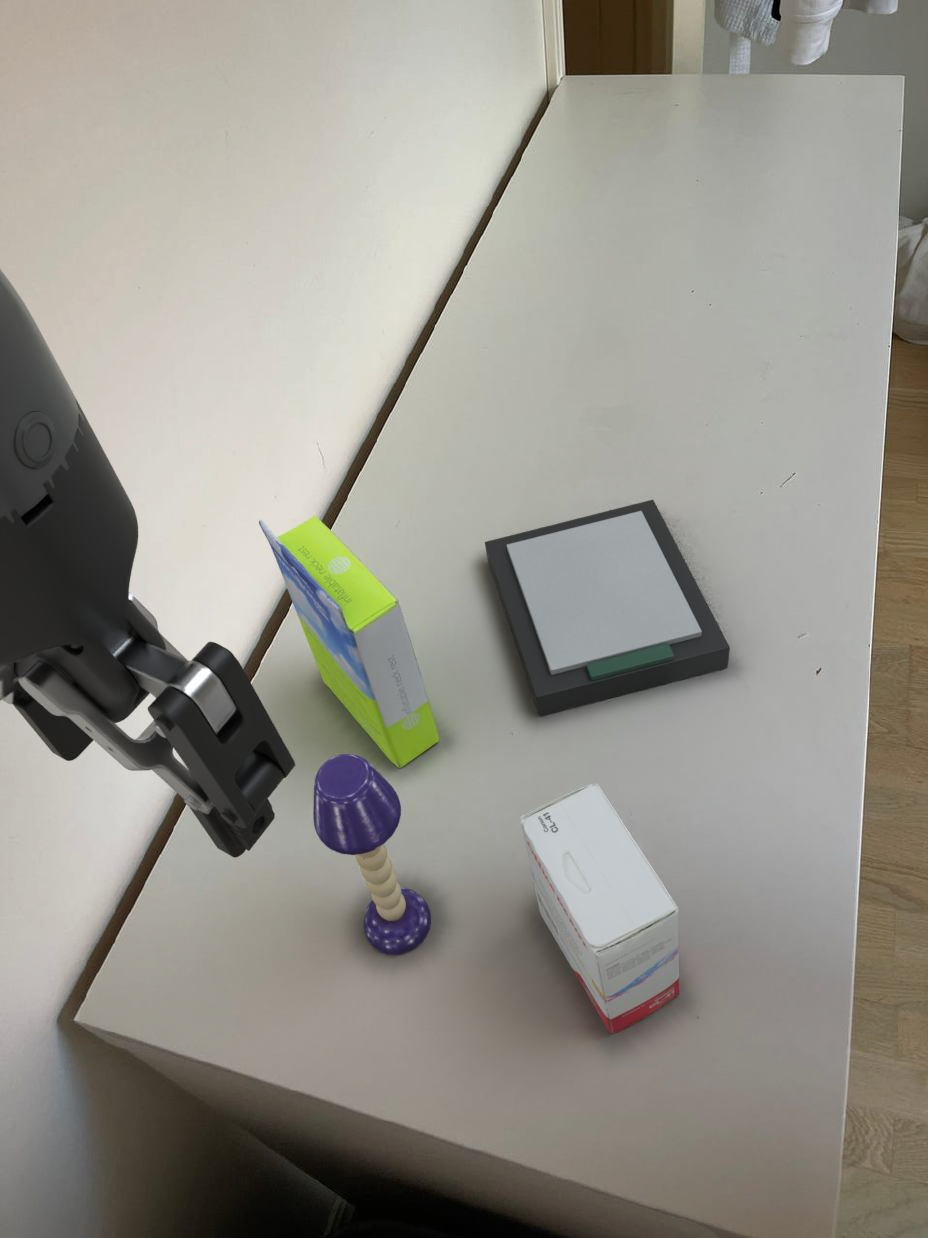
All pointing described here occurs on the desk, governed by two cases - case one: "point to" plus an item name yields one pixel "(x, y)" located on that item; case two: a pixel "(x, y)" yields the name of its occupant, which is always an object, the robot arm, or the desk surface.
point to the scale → (603, 608)
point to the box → (356, 638)
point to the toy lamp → (369, 847)
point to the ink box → (604, 905)
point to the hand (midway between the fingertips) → (162, 784)
